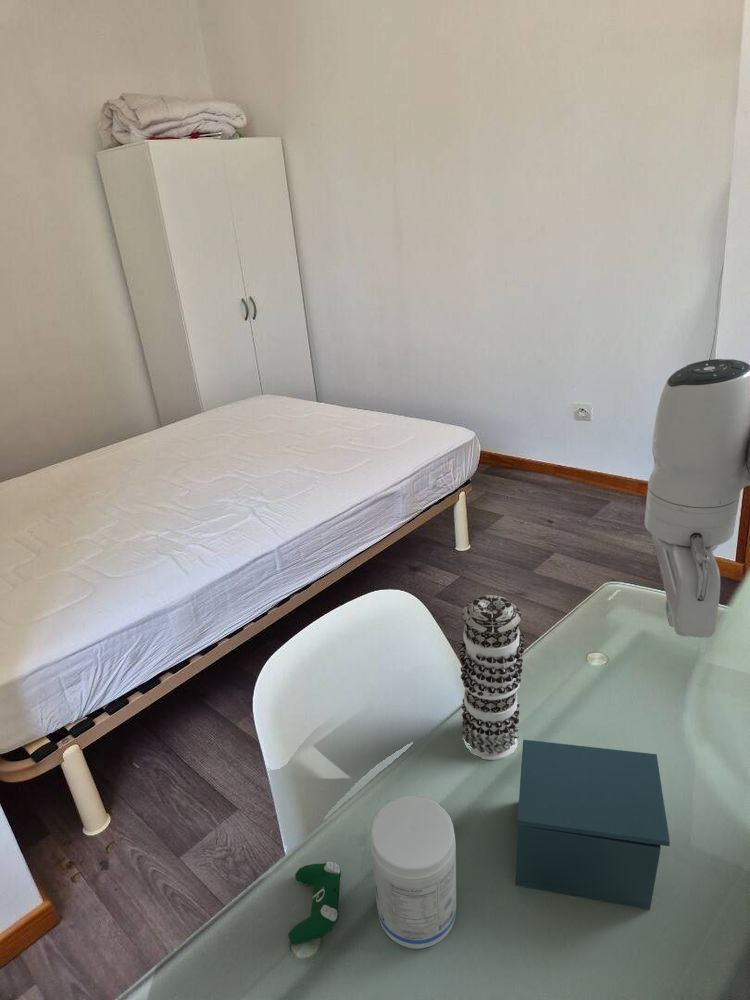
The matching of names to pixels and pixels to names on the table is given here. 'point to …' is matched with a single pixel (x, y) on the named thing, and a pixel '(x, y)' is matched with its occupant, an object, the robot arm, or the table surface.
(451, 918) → the supplement tub
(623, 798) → the lid
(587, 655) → the table surface
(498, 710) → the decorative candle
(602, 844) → the dark teal open box
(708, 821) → the table surface
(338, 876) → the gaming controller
